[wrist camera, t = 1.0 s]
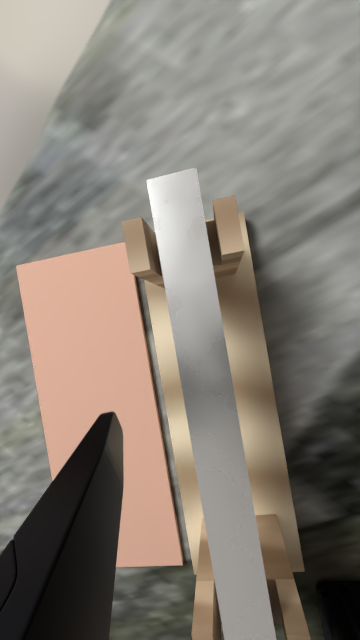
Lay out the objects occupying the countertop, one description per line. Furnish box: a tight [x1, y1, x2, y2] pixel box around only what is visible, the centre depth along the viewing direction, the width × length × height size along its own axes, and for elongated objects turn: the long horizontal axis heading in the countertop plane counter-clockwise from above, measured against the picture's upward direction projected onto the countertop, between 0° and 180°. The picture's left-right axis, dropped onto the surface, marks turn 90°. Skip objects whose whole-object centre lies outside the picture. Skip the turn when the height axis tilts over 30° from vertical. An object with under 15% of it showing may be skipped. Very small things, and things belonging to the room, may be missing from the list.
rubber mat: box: [16, 242, 184, 567], centre depth 22 cm, size 26×10×1 cm, turn 10°
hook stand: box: [122, 195, 311, 640], centre depth 17 cm, size 26×8×9 cm, turn 10°
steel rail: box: [147, 168, 276, 640], centre depth 14 cm, size 26×2×2 cm, turn 10°
